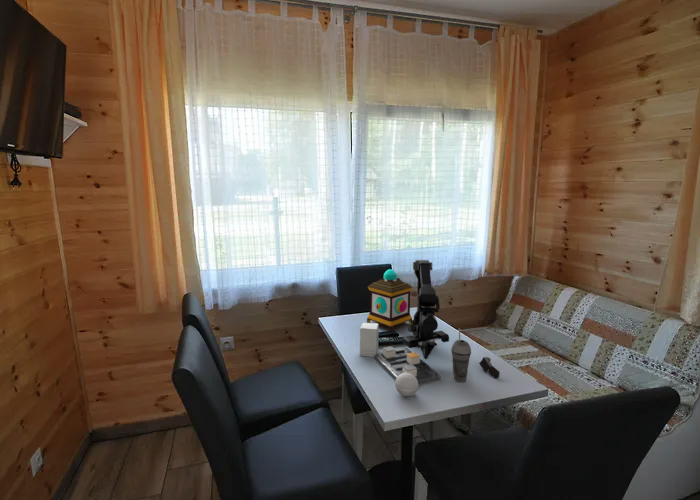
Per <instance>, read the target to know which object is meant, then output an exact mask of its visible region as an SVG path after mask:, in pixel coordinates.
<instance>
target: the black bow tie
mask: <svg viewBox="0 0 700 500" xmlns="http://www.w3.org/2000/svg"><path fill="white" fill-rule="evenodd" d="M491 360H492V359H491V357H489V356H483V358H482V359H481V361H480V362H479V363H478V364H479V366H480V367H481V368H482V370H483V372H484V373H485V372H488V374H489V375H490V376H491V377H493V378H494V379H499V377H500V371H499V370H498V369H497V368H495V367H494V365H492V363H491Z"/></svg>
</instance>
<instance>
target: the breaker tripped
mask: <svg viewBox="0 0 700 500" xmlns="http://www.w3.org/2000/svg"><path fill="white" fill-rule="evenodd" d="M420 359H421V356H420V355H419V354H418V353H417V352H416V351H414V352H413V353H408V354H407V362H408V363H409V364H418V363H420Z"/></svg>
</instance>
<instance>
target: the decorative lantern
mask: <svg viewBox="0 0 700 500" xmlns="http://www.w3.org/2000/svg"><path fill="white" fill-rule="evenodd" d="M367 289H368V290H369V313H368V315H367V317H366V323H371V321H372V322H373V323H376V324H380V325H382V326H386V327H388V329H389V332H390V331H392V332H393V329H394V328H395V327H396V326H399V325H402V324H404V323H408V325H410V324H412V320H413V317H412V315H411V311H410V310H411V291H412V290H413V286H412V285H411V284H409V283H408V282H405V281H403V280H402V279H400V278H399V277H398V275H397V272H396V271H395V270H393V269H390V268H389V269H387V270H386V271H385V272H384V273H383V277H382V278H380V279H378V280H377V281H375V282H372V283H371V284H369V285H368V286H367Z"/></svg>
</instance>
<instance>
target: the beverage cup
mask: <svg viewBox="0 0 700 500" xmlns="http://www.w3.org/2000/svg"><path fill="white" fill-rule="evenodd" d="M460 329H461V328H458V340H456V341H454V342H453V344H452V346H451V349H450V351H451V356H452V359H451V360H452V375H453V380H454V381H455V382H457V383H466V380H467V376H468V370H469V364H470V358H471V355H472V347H471V346H470V344H469V343H468V342H467V340H463V339H461V330H460Z"/></svg>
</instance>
